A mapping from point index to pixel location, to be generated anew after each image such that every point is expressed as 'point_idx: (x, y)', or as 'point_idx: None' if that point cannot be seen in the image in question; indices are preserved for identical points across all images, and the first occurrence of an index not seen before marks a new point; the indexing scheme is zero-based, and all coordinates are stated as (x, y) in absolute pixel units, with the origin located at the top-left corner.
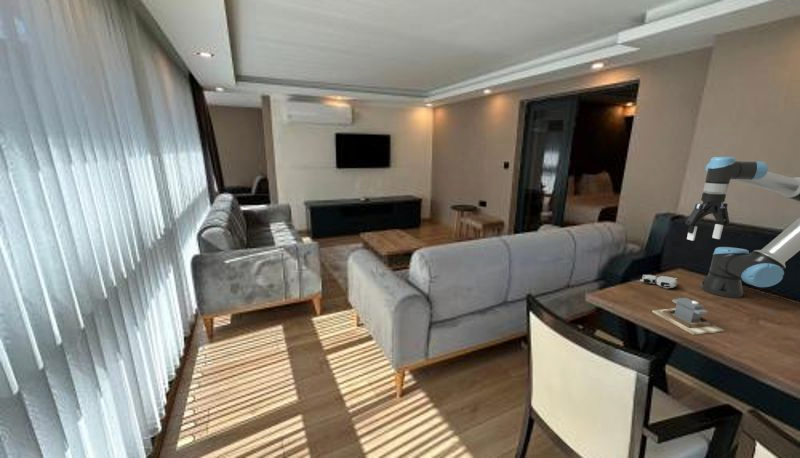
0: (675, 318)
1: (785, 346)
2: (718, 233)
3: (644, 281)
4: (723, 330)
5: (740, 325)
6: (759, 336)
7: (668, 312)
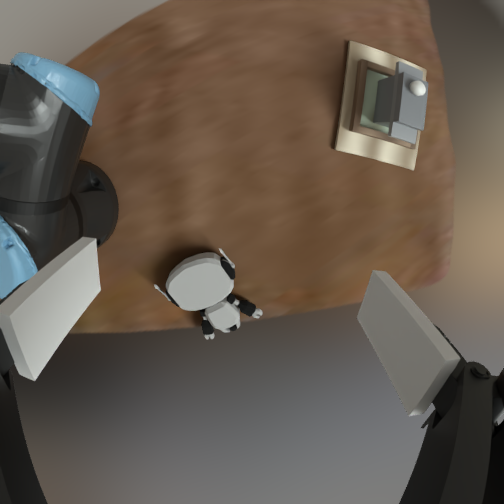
0: None
1: None
2: (70, 274)
3: (255, 306)
4: (351, 41)
5: (267, 40)
6: (286, 2)
7: None
